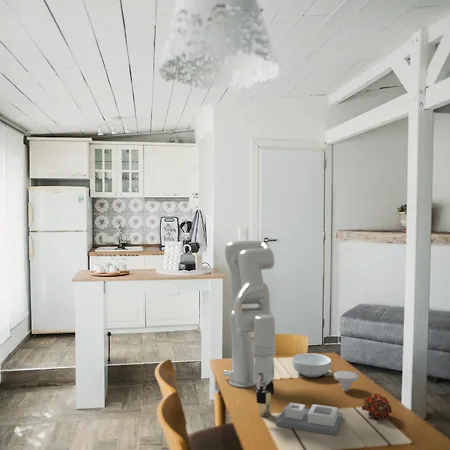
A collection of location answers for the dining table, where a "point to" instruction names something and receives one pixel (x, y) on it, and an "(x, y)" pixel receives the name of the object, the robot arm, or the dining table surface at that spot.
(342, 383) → the showerhead
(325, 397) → the dining table surface
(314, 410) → the socket board
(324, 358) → the cereal bowl
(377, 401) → the dragon fruit
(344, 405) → the dining table surface
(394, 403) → the dining table surface
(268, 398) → the gold rounded cylinder
